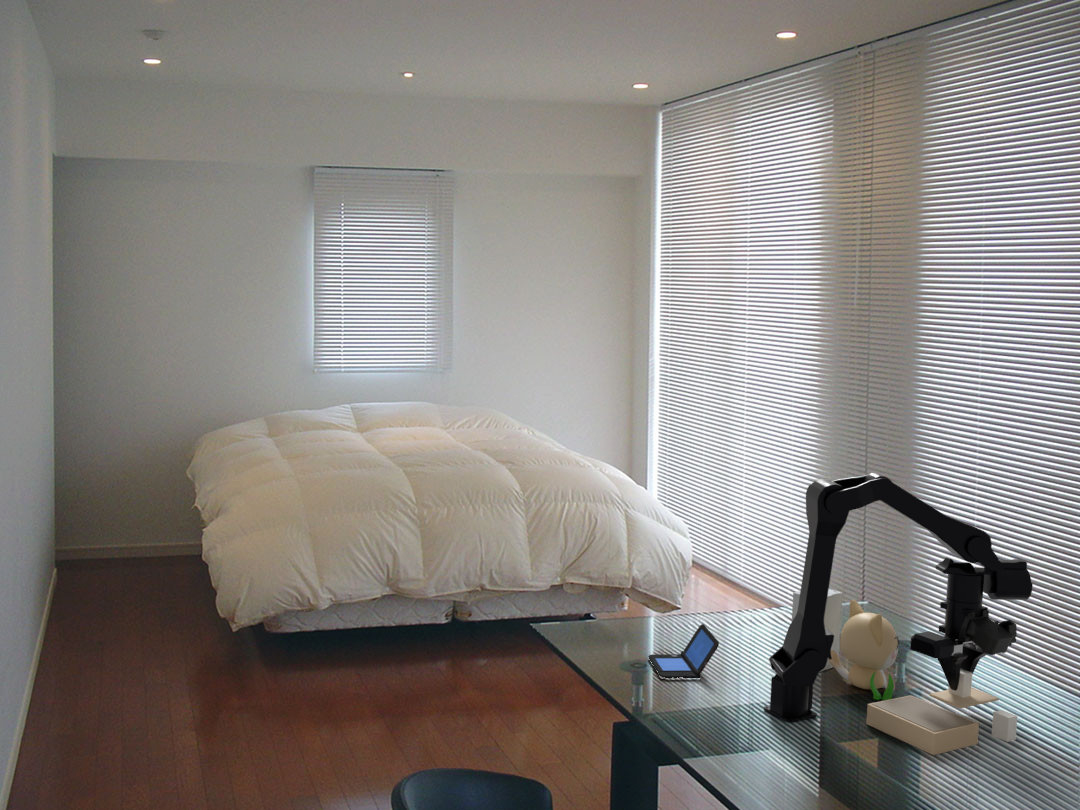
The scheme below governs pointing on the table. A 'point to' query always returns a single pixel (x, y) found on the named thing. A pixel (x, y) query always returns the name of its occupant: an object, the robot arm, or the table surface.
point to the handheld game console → (688, 656)
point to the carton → (922, 724)
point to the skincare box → (827, 617)
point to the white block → (1004, 725)
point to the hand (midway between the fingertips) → (958, 688)
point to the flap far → (964, 693)
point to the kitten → (867, 651)
